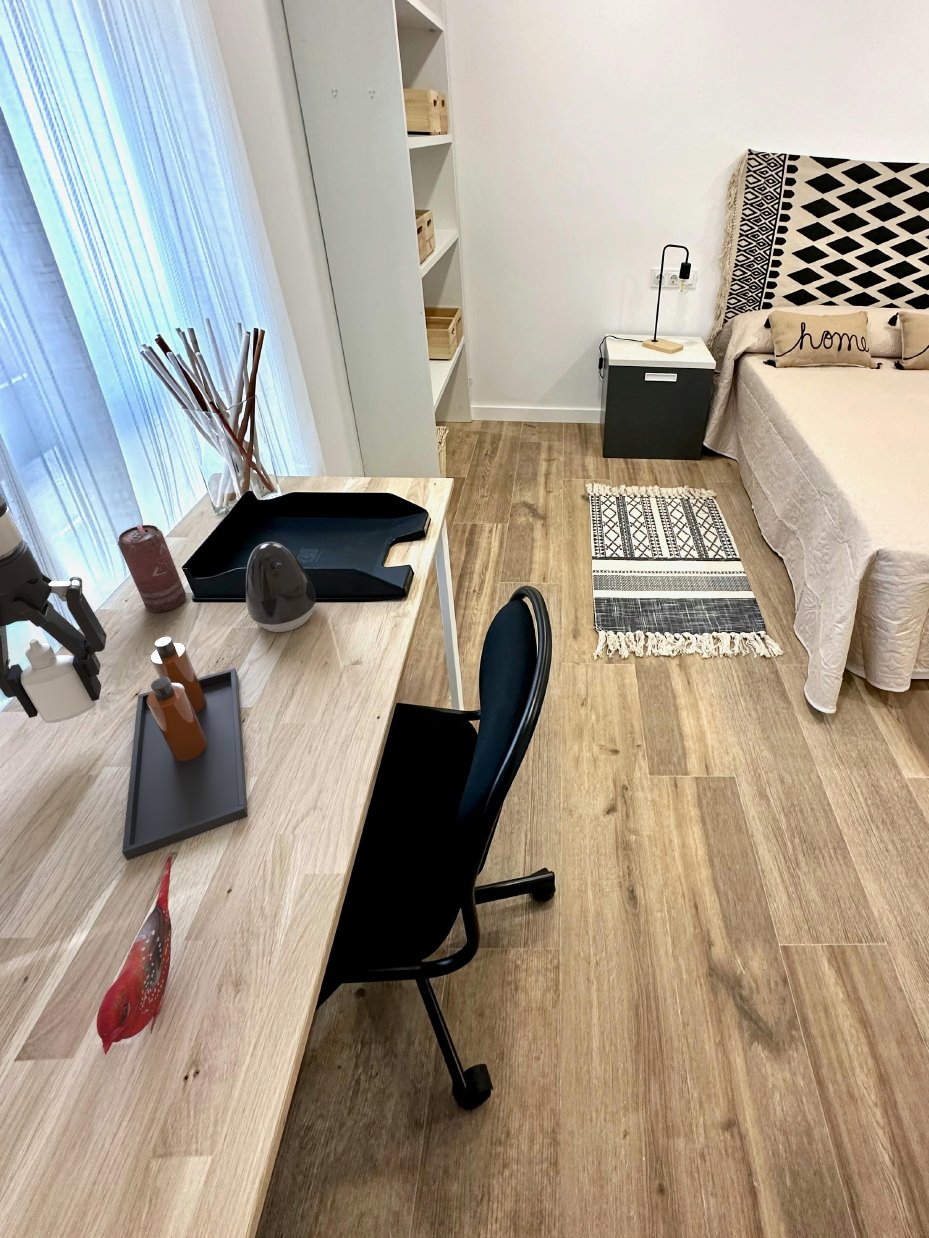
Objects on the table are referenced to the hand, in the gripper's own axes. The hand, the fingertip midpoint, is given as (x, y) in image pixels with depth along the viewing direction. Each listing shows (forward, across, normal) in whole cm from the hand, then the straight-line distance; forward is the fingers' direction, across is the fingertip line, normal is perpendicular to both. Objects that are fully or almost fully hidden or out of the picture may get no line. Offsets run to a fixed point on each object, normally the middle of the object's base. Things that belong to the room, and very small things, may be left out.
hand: (66, 700), depth 80 cm
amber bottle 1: (+6, +12, 0) cm, 14 cm away
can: (+8, +8, +28) cm, 30 cm away
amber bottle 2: (+6, +12, -8) cm, 16 cm away
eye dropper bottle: (+2, 0, 0) cm, 2 cm away
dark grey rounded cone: (+7, +26, +14) cm, 30 cm away
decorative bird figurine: (+7, +10, -36) cm, 38 cm away
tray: (+7, +12, -9) cm, 17 cm away
